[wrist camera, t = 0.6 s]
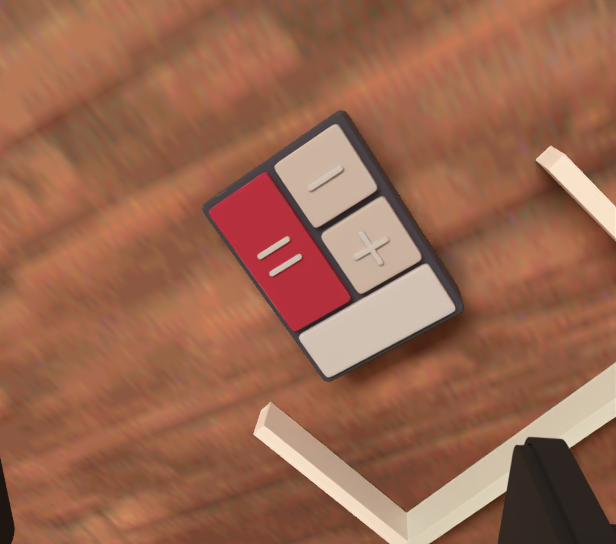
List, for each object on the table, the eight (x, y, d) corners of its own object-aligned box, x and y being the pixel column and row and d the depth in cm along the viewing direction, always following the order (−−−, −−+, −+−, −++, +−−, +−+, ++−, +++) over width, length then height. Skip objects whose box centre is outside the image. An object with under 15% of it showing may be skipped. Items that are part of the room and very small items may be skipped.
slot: (550, 145, 36) (564, 154, 33) (712, 312, 39) (738, 333, 36) (261, 410, 46) (253, 434, 43) (406, 528, 49) (408, 558, 46)
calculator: (338, 110, 34) (468, 315, 36) (344, 106, 38) (461, 291, 41) (194, 209, 37) (324, 390, 40) (214, 196, 41) (331, 361, 44)
